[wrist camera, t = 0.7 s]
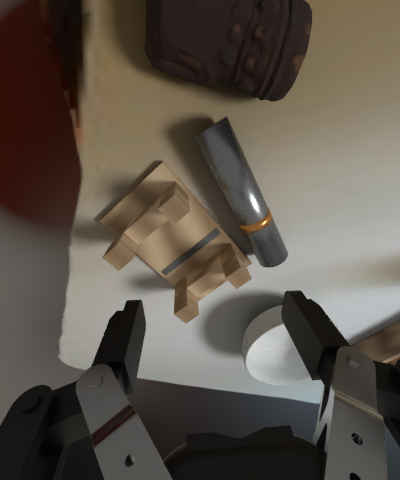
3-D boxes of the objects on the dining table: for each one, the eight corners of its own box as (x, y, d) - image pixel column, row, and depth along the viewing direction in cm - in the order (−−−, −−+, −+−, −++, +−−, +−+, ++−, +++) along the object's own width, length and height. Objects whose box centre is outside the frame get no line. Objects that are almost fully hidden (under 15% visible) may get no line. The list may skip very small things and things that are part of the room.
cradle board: (163, 160, 28) (158, 170, 22) (250, 260, 36) (265, 289, 29) (101, 219, 31) (79, 243, 24) (193, 299, 39) (196, 335, 32)
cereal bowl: (217, 330, 43) (224, 365, 36) (282, 273, 38) (303, 302, 32) (275, 362, 49) (289, 397, 42) (338, 316, 44) (364, 348, 37)
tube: (191, 137, 27) (192, 139, 23) (224, 117, 27) (230, 115, 23) (255, 256, 36) (263, 272, 32) (281, 243, 35) (293, 257, 31)
